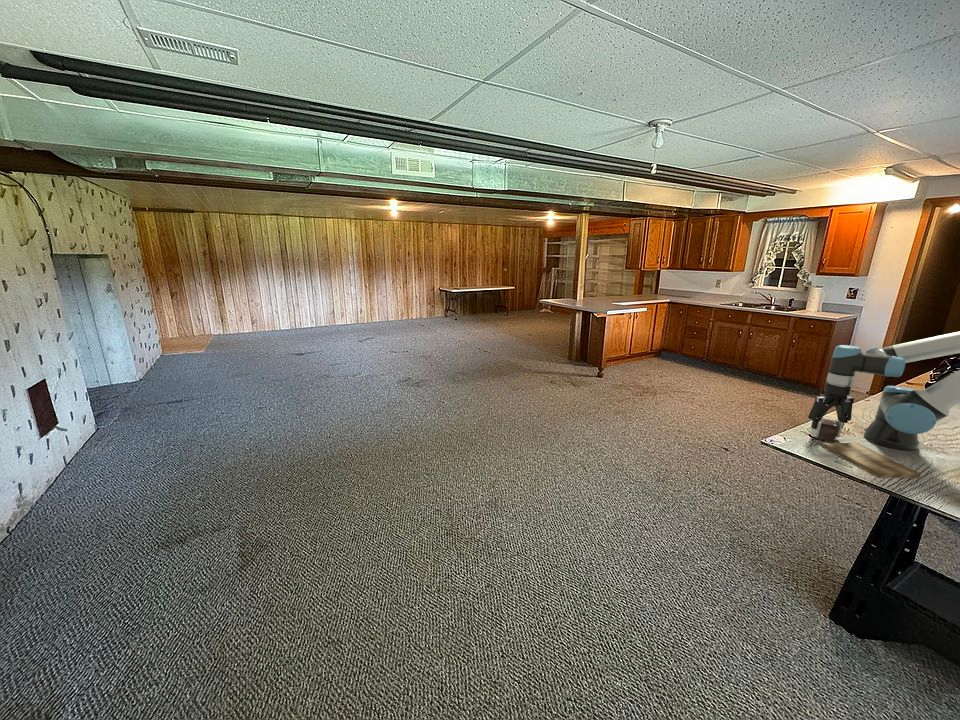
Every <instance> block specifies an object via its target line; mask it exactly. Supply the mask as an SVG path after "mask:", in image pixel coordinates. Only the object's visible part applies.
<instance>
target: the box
mask: <svg viewBox="0 0 960 720" xmlns="http://www.w3.org/2000/svg"><path fill="white" fill-rule="evenodd" d="M820 422H821V427H820V431H819V434H818V437H815V436H814V439H816V440H820V441H825V442H828V443H835V441H836V438H837V437H836V434H837V431H838V427H839V426H838V422H837V421H835V420H831V419H826V418H822V419H821V420H820Z"/></svg>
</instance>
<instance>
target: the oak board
mask: <svg viewBox="0 0 960 720" xmlns="http://www.w3.org/2000/svg"><path fill="white" fill-rule="evenodd" d="M821 447H822V448H824V449H826V450H828V451H830V452H832V453H834V454H835V455H837V456H839V457H841V458H843V459H845V460H846V461H848V462H850V463H851V464H853V465H854V466H857V467H858V468H860V469H862V470H863V471H866V472H868V473H869V474H871V475H873V476H875V477H877V478H887V479H888V478H895V479H896V478H899V479H901V478H902V479H903V478H905V479H906V478H907V479H908V478H910V479H911V478H913V479H915V478H916V479H917V478H921V475H922V473H921V472H918V471H917V470H914V469H913V468H910V467H908V466H906V465H904V464H902V463H900V462H897V461H896V460H894V459H892V458H890V457H888V456H886V455H884V454H882V453H880V452H878V451H876V450H873V449H872V448H870V447H867V446H865V445H863V444H861V443H859V442H834V443H833V442H822V445H821Z"/></svg>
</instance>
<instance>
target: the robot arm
mask: <svg viewBox="0 0 960 720" xmlns="http://www.w3.org/2000/svg"><path fill="white" fill-rule="evenodd" d="M955 354H956V355H957V354H960V331H955V332H951V333H945V334H941V335H940V334H939V335H936V336H932V337H927V338H922V339H917V340H916V339H915V340H914V341H913V340H912V341H908V342H903V343H899V344H897V343H896V344H894V345H889V346H885V347H884V346H883V347H877V346H876V347H871V348H868V349H867V350H866V351H865V352H862V348H861V347H860V346H856V345H855V346H854V345H848V344H839V345H836V346H835V348H834V350H833V353H832V356H831V360H830V365H829V368H828V369H829V370H828V374H827V376H826V382H825V384H824V388H823V391H824V394H823V396H815V397H814V403H813V405H812V407H811V409H810V412H809V414H808V415H807V418H808V419H809V420H811V421H812V422H811V426H810V428H811V430H810V435H811V436H813V437H814V438H815V437H818V434H819V431H820V427H821V422H820V420H821V419H824V417H825V415H826V414H827V412H828V411H829V410H830V409H832V408H833V407H835V412H836V416H837V419H835V420H834V421H837V422H838V426H839V427H838V431H837V434H836V438H840V436H841V433H842V430H843V429H844V426H845V424H848V423H849V422H850V421H851V420H852V414H853V413H852V412H853V403H854V401H855V398H854V397H851V396H849V395H850V393H851V390H852V387H851V386H852V385H853V382H854V378H855V374H856V372H857V373H863V374H870V375H877V376H884V377H887V378H888V377H894V378H899V377H901V376H902V375H903V373H904V371H905V367H906V363H907V364H908V363H913V362H917V361H921V360H922V361H923V360H927V359H928V360H930V359H934V358H940V357H944V356H951V355H955ZM879 401H880V402H879V403H878V407H877V410H876V415H875V416H874V420H873V421H872V422H871V423H870V424H869V426H868V427H867V428H866V429H865V430H864V433H863V437H864V439H867V440H868V441H870V442H872V443H874V444H876V445H877V444H878V445H880V446H883V447H887V448H891V449H895V450H902V451H916V450H918V448H919V445H920V442H919V436H918V434H925V433H927V432H929V431H931V430H933V428H935V426H936V424H937V422H938V421H940V420H942V419H944V418H947V417H949V415H950V411H951V409H952V408H954V407H956V406H958V405H960V369H958V370H957V371H955V372H953V373H952V374H950V375H948V376H946V377H944V378H943V379H941V380H939V381H937V382H936V383H934V384H932V385H931V386H927V388H925V389H916V388H915V389H914V388H911V387H905V386H899V385H898V386H897V385H887V386H885V387H884V388H883V391H882V392H881V396H880V400H879Z"/></svg>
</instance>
